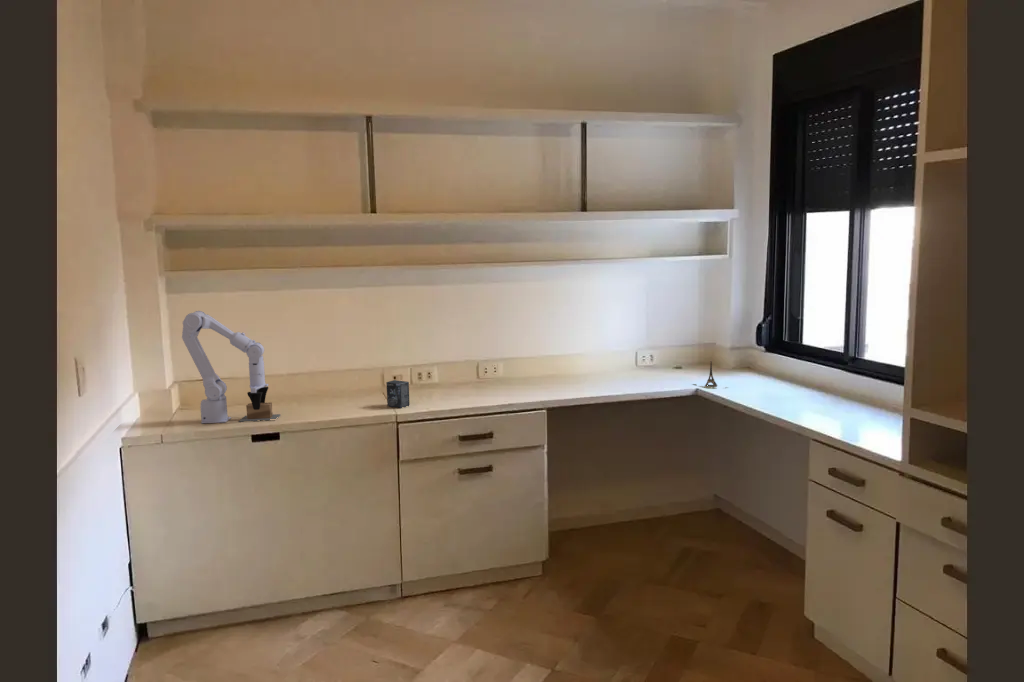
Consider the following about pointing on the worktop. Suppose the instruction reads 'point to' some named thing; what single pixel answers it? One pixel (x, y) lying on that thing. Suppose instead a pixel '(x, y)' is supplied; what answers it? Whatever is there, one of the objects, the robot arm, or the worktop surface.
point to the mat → (259, 419)
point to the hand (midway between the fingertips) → (259, 407)
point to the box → (397, 393)
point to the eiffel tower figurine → (710, 380)
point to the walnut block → (259, 411)
